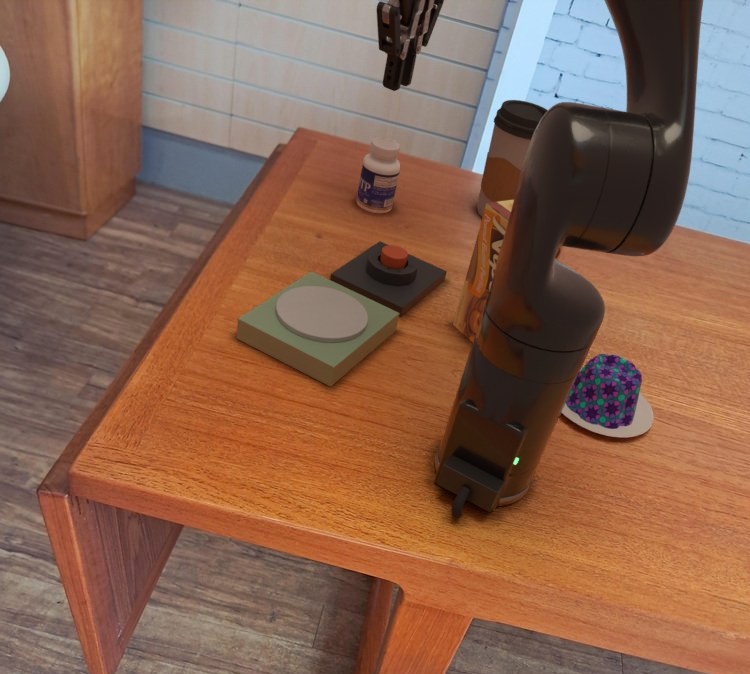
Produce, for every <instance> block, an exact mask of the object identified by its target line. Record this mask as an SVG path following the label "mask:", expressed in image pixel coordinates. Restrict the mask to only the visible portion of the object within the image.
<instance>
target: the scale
mask: <svg viewBox="0 0 750 674" xmlns="http://www.w3.org/2000/svg"><path fill="white" fill-rule="evenodd" d="M399 314H400V313H398V312H396V311H394V310H392V309H390V308H388V307H386V306H383V305H381V304H379V303H377V302H375V301H373V300H371V299H369V298H367V297H365V296H362V295H360V294H358V293H356V292H354V291H352V290H350V289H348V288H346V287H343V286H341V285H339V284H337V283H335V282H333V281H331V280H330V278H326V277H325V276H322V275H320V274H318V273H316V272H314V271H312V270H310V271H309V272H307V273H306V274H304V275H303V276H301V277H299V279H297V280H296V281H294V282H292V283H291V284H289V285H288V286H286V287H284V288H283V289H281V290H280V291H278V292H277V293H275V294H274V295H272V296H271V297H269V298H267V299H266V300H264V301H262V302H261V303H259V304H258V305H256V306H255V307H253V308H252V309H250V310H248V311H247V312H246V313H244V314H243V315H241V316H240V317H238V318H237V325H236V339H237V340H239V341H241V342H242V343H244V344H247V345H248V346H250V347H252V348H254V349H256V350H258V351H260V352H262V353H264V354H266V355H268V356H269V357H272V358H274V359H275V360H277V361H279V362H281V363H283V364H285V365H287V366H289V367H291V368H293V369H295V370H297V371H299V372H301V373H303V374H305V375H306V376H308V377H310V378H313V379H315V380H316V381H318V382H320V383H322V384H324V385H327V386H328V387H333V386H334V385H335V384H336V383H338V381H339V380H341V379H342V378H343V377H344V376H346V374H348V373H349V372H350V371H351V370H352V369H353V368H354V367H355V366H357V365H358V364H359V363H360V362H362V361H363V360H364V359H365V358H366V357H367V356H368V355H370V354H371V353H372V352H373V351H374V350H375V349H377V348H378V347H379V346H380V345H381V344H383V343H384V342H385V341H386V340H387V339H388V338H390V336H392V335H393V334H394V333H396V330H397V327H398V322H399V318H400V317H399Z"/></svg>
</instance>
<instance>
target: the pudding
mask: <svg viewBox="0 0 750 674" xmlns="http://www.w3.org/2000/svg"><path fill="white" fill-rule="evenodd" d="M642 383H643V375H642V373H641V371H640V370H639V369H638V368H636V365H635V364H634V363H633V362H631V361H630V360H628V359H625V358H623V357H621V356H620V355H617V354H606V353H600V354H597V355H595V356H594V357H592V358H591V359H590V360H588V361H587V362H586V363H585V364H584V366H582V368H581V370H580V372H579V374H578V376H577V378H576V381H575V383H574V385H573V387H572V389H571V392H570V394H569V396H568V398H567V401H566V403H565V405H564V407H563V410H562V412H561V414H563V416H565V417H566V418H568V420H570V421H572V422H573V423H574V424H576V425H578V426H579V427H581V428H583V429H586V430H588V431H590V432H593V433H597V434H598V435H603V436H607V437H613V438H632V437H637V436H641V435H643V434H645V433H646V432H648V431H649V430H650V428H652V426H653V423H654V420H655V419H654V418H655V415H654V411H653V408H652V406H651V404H650V402H649V401H648V399H647V398H646V397H645V396H644V395H643V394H642V393H641V387H642Z"/></svg>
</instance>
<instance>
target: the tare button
mask: <svg viewBox="0 0 750 674" xmlns="http://www.w3.org/2000/svg"><path fill="white" fill-rule="evenodd" d="M408 254H409V253H408V251H407V250H406V249H404V248H403V247H401V246H398V245H391V244H388V246H385V247H383V248H382V252H381V257H380V263H381V264H382V265H384V266H386V267H389V268H394V269H402V268H405V266H406V261H407V257H408Z"/></svg>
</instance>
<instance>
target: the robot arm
mask: <svg viewBox="0 0 750 674" xmlns="http://www.w3.org/2000/svg"><path fill="white" fill-rule="evenodd" d="M603 1H604V3H605V5H606V6H605V7H606V8H607V10H608V13H609V15H610V17H611V20H612V23H613V25H614V28H615V30H616V33H617V35H618V38H619V39H618V40H619V43H620V47H621V49H622V50H621V51H622V56H623V61H624V68H625V83H626V85H625V86H626V111H623V110H619V109H613V108H607V107H602V106H596V105H590V104H585V103H579V102H572V101H561V102H558V103H555V104H554V105H552V106H550V107H549V109H547V110H548V111H547V112H546V113H545V114H544V116H543V117H542V118H541V120H540V121H539V123H538V125H537V127H536V129H535V131H534V133H533V136H532V138H531V141H530V144H529V146H528V149H527V153H526V156H525V159H524V163H523V166H522V170H521V174H520V178H519V182H518V186H517V190H516V194H515V198H514V202H513V206H512V210H511V214H510V217H509V221H508V225H507V228H506V232H505V235H504V238H503V242H502V245H501V248H500V251H499V255H498V259H497V263H496V267H495V272H494V276H493V280H492V284H491V288H490V291H489V294H488V297H487V301H486V304H485V307H484V310H483V313H482V316H481V319H480V323H479V326H478V329H477V332H476V334H475V338H474V341H473V343H472V344H471V347H470V351H469V354H468V357H467V359H466V363H465V366H464V369H463V372H462V375H461V379H460V381H459V385H458V388H457V392H456V394H455V397H454V400H453V404H452V407H451V409H450V413H449V415H448V418H447V422H446V424H445V429H444V431H443V435H442V438H441V440H440V443H439V445H438V447H437V449H436V453H435V457H434V468H435V471H436V474H435V476H434V480H433V482H434V483H435V484H436V485H437V486H440V487H442V488H443V489H445V490H447V491H449V492H450V493H453V494H455V495H456V496H455V498H454V501H453V504H452V506H451V517H452V518H453V519H454V520H459V519H461V518H462V516H463V513H462V512H463V508H464V505H465V503H466V501H468V502H470V503H472V504H473V505H475V506H476V507H479V508H481V509H483V510H485V511H486V512H488V513H489V512H491V513H492V512H494V511H495V509H496V508H497V507H501V506H502V507H503V506H508V505H511V504H514V503H517V502H518V501H520V500H522V498H523V497H524V496H526V494H527V493H528V491H529V489H530V486H531V484H532V482H533V477H534V475H535V472H536V470H537V468H538V466H539V464H540V461H541V459H542V457H543V455H544V452H545V450H546V448H547V446H548V443H549V441H550V439H551V437H552V434H553V432H554V430H555V428H556V426H557V423H558V421H559V419H560V417H561V414H562V410H563V407H564V405H565V403H566V401H567V398H568V396H569V394H570V392H571V389H572V387H573V385H574V383H575V381H576V378H577V376H578V374H579V372H580V370H581V368H583V365H584V363H585V361H586V359H587V357H588V354H589V352H590V349H591V347H592V345H593V343H594V340H596V337H597V336H598V333H599V330H600V328H601V326H602V323H603V321H604V318H605V313H606V305H605V304H606V303H605V300H604V298H603V296H602V294H601V292H600V291H599V290H598V288H597V287H596V286H595V285H594V284H593V283H592V282H591V281H590V280H589V279H587V278H586V277H585V276H583V275H582V274H581V273H579V272H578V271H576V270H574V269H572V268H570V267H569V266H567V265H566V264H564V263H563V262H561V261H560V260H559V259H558V260H556V259H555V257H556V253H557V251H558V249H559V247H560V246H563V247H565V248H570V249H571V248H572V249H578V250H583V251H590V252H591V251H592V252H598V253H603V254H604V253H605V254H610V255H617V256H625V257H646V256H649V255H651V254H653V253H656V252H657V251H658V250H659V249H660V248H662V246H663V245H664V244H665V243H666V242H667V240H668V239H669V238H670V236H671V234H672V232H673V230H674V228H675V226H676V224H677V222H678V220H679V217H680V214H681V212H682V209H683V205H684V202H685V197H686V193H687V189H688V184H689V179H690V173H691V166H692V156H693V146H694V145H693V143H694V132H695V117H696V116H695V115H696V100H697V85H698V84H697V83H698V69H699V68H698V67H699V50H700V38H701V25H702V14H703V7H704V6H703V5H704V0H603ZM444 2H445V0H387V2H384V1H382V0H381V1H378V3H377V5H376V23H377V26H376V27H377V37H378V38H377V39H378V51H381V52H383V53H385V54H386V61H385V66H384V73H383V78H382V86H383V88H385V89H388V90H390V91H393V92H396V91H398V90H400V88H401V86H403V87H408V86H410V85H411V84H412V80H413V76H414V70H415V65H416V60H417V55H419V54H420V53H421V51H422V47H424V48H427V46H428V45H429V42H430V39H431V36H432V34H433V31H434V28H435V25H436V23H437V21H438V19H439V16H440V14H441V13H440V12H441V10H442V9H443V5H444Z"/></svg>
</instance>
